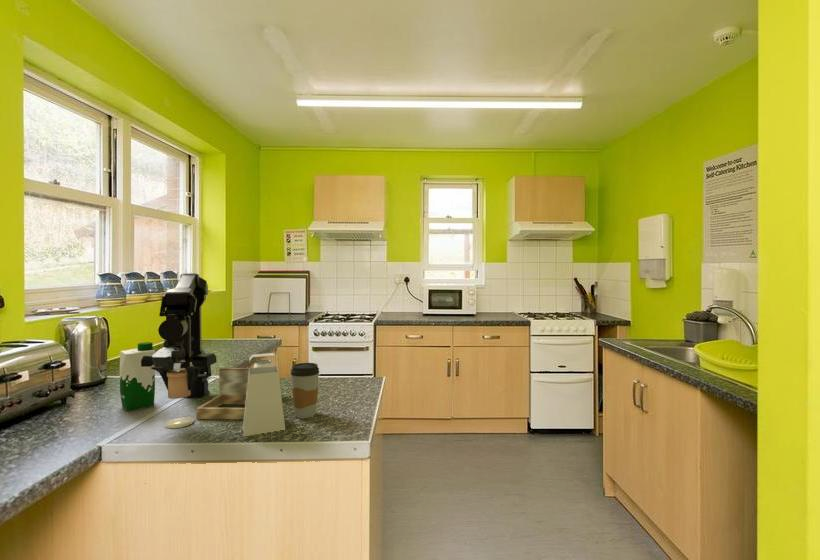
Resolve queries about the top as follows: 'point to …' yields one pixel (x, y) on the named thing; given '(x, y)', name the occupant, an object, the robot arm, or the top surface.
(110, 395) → the top surface
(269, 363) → the can
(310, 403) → the coffee cup
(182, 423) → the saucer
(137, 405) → the milk carton
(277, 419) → the grater
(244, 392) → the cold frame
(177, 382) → the pot
